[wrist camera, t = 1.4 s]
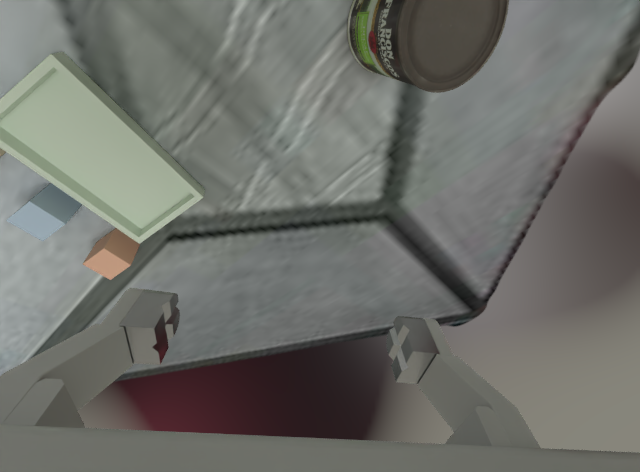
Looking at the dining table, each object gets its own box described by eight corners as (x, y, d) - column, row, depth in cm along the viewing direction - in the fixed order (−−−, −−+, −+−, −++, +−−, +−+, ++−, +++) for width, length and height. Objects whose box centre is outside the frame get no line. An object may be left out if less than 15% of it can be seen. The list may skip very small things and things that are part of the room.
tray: (-14, 120, 32) (-31, 126, 30) (63, 52, 30) (50, 53, 28) (143, 233, 44) (139, 243, 42) (205, 189, 42) (203, 197, 40)
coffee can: (355, 85, 39) (403, 107, 28) (338, -13, 33) (392, -33, 22) (426, 59, 39) (501, 72, 28) (423, -42, 33) (519, -77, 22)
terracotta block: (96, 242, 43) (82, 264, 39) (116, 227, 43) (103, 248, 39) (121, 257, 46) (110, 279, 42) (139, 244, 45) (130, 265, 41)
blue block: (29, 200, 38) (5, 220, 34) (51, 182, 37) (29, 201, 33) (61, 220, 40) (42, 241, 36) (82, 204, 40) (65, 223, 36)
